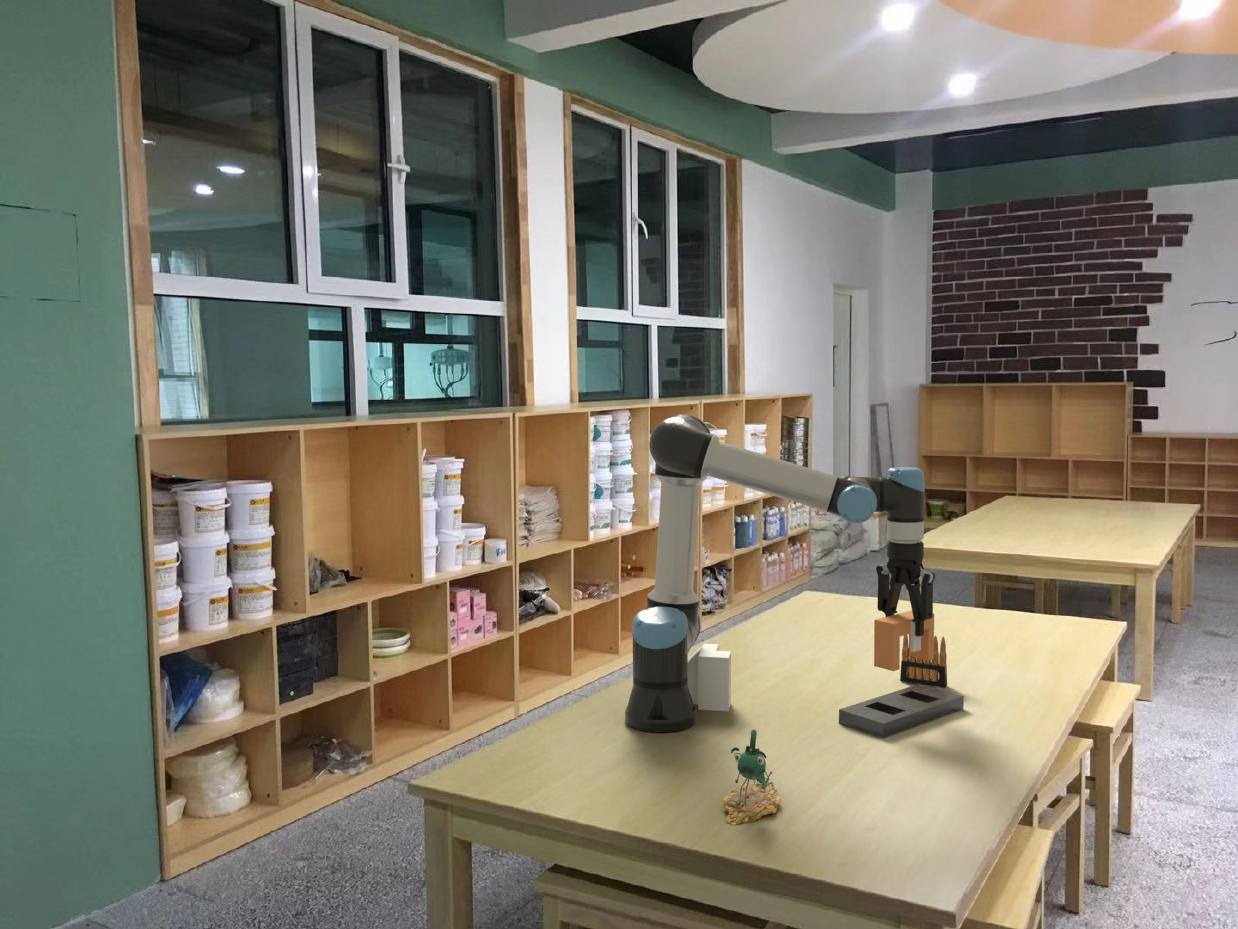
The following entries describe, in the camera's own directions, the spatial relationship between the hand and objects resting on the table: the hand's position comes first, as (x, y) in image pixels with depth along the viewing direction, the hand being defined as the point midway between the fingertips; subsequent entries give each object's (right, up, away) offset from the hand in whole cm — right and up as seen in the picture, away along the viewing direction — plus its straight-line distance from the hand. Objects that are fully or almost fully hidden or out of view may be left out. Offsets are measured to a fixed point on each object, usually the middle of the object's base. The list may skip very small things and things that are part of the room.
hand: (904, 647), depth 223 cm
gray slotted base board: (0, -15, +1) cm, 15 cm away
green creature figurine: (-38, -20, -43) cm, 61 cm away
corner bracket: (-41, -15, +12) cm, 46 cm away
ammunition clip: (+11, -13, +24) cm, 30 cm away
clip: (0, -3, 0) cm, 3 cm away
